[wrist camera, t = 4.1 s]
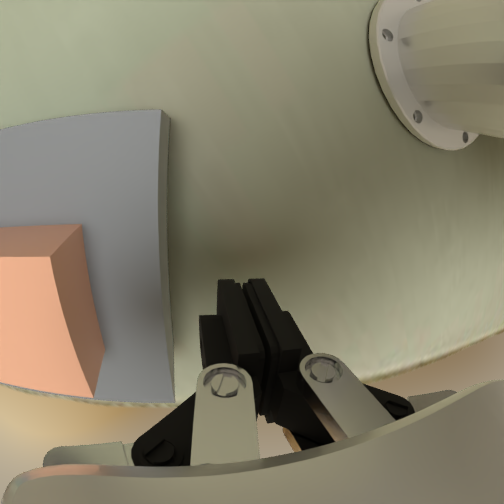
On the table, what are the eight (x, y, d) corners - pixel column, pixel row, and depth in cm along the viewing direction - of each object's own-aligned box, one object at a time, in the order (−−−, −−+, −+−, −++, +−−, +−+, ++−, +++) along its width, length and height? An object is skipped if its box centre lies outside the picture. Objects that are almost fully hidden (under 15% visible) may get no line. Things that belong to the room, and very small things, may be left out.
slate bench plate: (170, 117, 13) (161, 109, 8) (173, 345, 18) (174, 402, 14) (-64, 155, 9) (-109, 170, 4) (-26, 329, 14) (-52, 367, 10)
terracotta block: (81, 224, 9) (49, 256, 7) (105, 349, 12) (93, 397, 9) (-26, 229, 8) (-64, 256, 5) (7, 339, 10) (-14, 378, 8)
